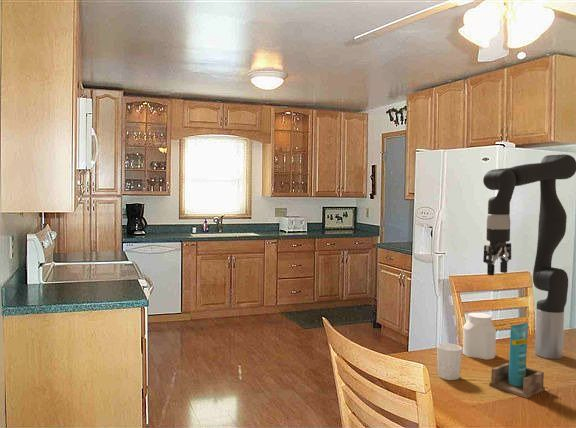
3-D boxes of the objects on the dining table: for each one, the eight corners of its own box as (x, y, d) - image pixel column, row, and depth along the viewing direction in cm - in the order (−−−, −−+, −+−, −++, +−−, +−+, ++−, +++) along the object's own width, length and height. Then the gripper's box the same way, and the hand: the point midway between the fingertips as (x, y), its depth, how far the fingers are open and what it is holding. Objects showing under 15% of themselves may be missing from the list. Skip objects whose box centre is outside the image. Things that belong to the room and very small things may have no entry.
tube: (516, 389, 156) (519, 326, 155) (502, 383, 160) (504, 323, 160) (531, 384, 160) (533, 323, 159) (516, 379, 164) (519, 320, 164)
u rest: (507, 378, 168) (508, 361, 168) (544, 389, 159) (545, 372, 158) (489, 385, 161) (489, 368, 161) (526, 398, 152) (527, 380, 152)
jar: (496, 353, 194) (497, 314, 193) (493, 360, 185) (495, 320, 185) (464, 348, 199) (465, 310, 199) (460, 355, 191) (461, 316, 190)
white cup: (448, 382, 164) (449, 351, 163) (431, 374, 171) (431, 345, 170) (466, 378, 167) (467, 348, 167) (448, 371, 174) (449, 342, 174)
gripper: (498, 225, 185) (497, 270, 185) (477, 227, 176) (476, 274, 176) (519, 227, 179) (518, 273, 179) (497, 229, 170) (496, 277, 171)
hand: (497, 273), depth 178 cm, fingers open, 8 cm apart
